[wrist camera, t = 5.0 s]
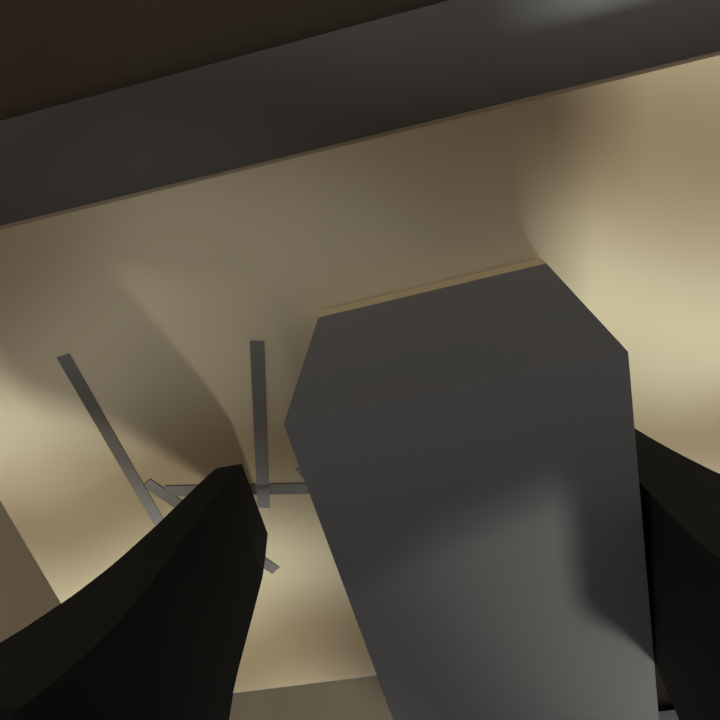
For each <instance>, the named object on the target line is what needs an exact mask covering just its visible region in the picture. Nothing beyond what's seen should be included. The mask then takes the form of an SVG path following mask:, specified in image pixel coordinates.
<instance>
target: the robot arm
mask: <svg viewBox="0 0 720 720" xmlns="http://www.w3.org/2000/svg"><path fill="white" fill-rule="evenodd" d="M635 439H636V451H637V463H638V475H639V487H640V499H641V511H642V522H643V534H644V546H645V558H646V570H647V582H648V594H649V606H650V618H651V630H652V642H653V653H654V660H655V663H656V665H657V667H658V670H659V672H660V675H661V677H662V679H663V682H664V684H665V687H666V689H667V691H668V694H669V696H670V699H671V701H672V704H673V706H674V709H675V710H665V711H658V713H659V720H720V474H719V473H717V472H715V471H713V470H710V469H708V468H706V467H704V466H702V465H700V464H698V463H696V462H694V461H692V460H690V459H688V458H686V457H684V456H683V455H681V454H679V453H677V452H675V451H673V450H671V449H670V448H668V447H666V446H664V445H662V444H661V443H659V442H657V441H655V440H654V439H652V438H650V437H648V436H647V435H645V434H643V433H642V432H640V431H638V430H637V429H635ZM267 536H268V533H267V530H266V528H265V525H264V522H263V520H262V517H261V514H260V512H259V509H258V506H257V504H256V501H255V498H254V495H253V493H252V490H251V487H250V485H249V482H248V479H247V477H246V474H245V471H244V469H243V466H242V464H238V465H232V466H226V467H220V468H216V469H215V470H214V471H212V472H211V473H210V474H209V475H208V476H207V477H206V478H204V479H203V480H202V481H201V482H200V483H199V484H198V485H197V486H196V487H195V488H194V489H193V490H192V491H191V492H190V493H189V494H188V495H187V496H186V497H185V498H184V499H183V500H182V501H181V502H180V503H179V504H178V505H177V506H176V507H175V508H174V509H173V510H172V511H171V512H170V513H169V514H168V515H167V516H165V517H164V518H163V519H162V520H161V521H160V522H159V523H158V524H157V525H156V526H155V527H154V528H153V529H152V530H151V531H150V532H149V533H147V534H146V535H145V536H144V537H143V538H142V539H141V540H140V541H139V542H138V543H136V544H135V545H134V546H133V547H132V548H131V549H130V550H129V551H128V552H126V553H125V554H124V555H123V556H122V557H121V558H120V559H119V560H117V561H116V562H115V563H114V564H113V565H111V566H110V567H109V568H108V569H107V570H105V571H104V572H103V573H102V574H100V575H99V576H98V577H96V578H95V579H94V580H93V581H91V582H90V583H89V584H87V585H86V586H85V587H83V588H82V589H81V590H80V591H78V592H77V593H75V594H74V595H73V596H71V597H70V598H68V599H67V600H66V601H64V602H63V603H61V604H60V605H58V606H57V607H55V608H54V609H52V610H51V611H49V612H48V613H46V614H45V615H43V616H42V617H40V618H39V619H37V620H36V621H35V622H33V623H32V624H30V625H29V626H27V627H25V628H24V629H22V630H21V631H19V632H17V633H16V634H14V635H13V636H11V637H9V638H8V639H6V640H4V641H3V642H1V643H0V720H229V716H230V710H231V703H232V697H233V691H234V687H235V682H236V678H237V673H238V669H239V665H240V661H241V657H242V654H243V650H244V646H245V642H246V639H247V635H248V631H249V627H250V624H251V620H252V616H253V612H254V609H255V605H256V601H257V597H258V593H259V589H260V585H261V581H262V577H263V571H264V564H265V556H266V546H267Z"/></svg>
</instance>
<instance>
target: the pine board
mask: <svg viewBox="0 0 720 720" xmlns="http://www.w3.org/2000/svg"><path fill="white" fill-rule="evenodd" d="M538 258H542V259H543V260H544V261H545V262H546V263H547V265H548V266H549V267H550V268H551V269H552V270H553V271H554V272H555V273H556V274H557V275H558V276H559V278H560V279H561V280H562V281H563V282H564V283H565V284H566V285H567V286H568V287H569V288H570V289H571V290H572V292H573V293H574V294H575V295H576V296H577V297H578V298H579V299H580V300H581V301H582V302H583V303H584V305H585V306H586V307H587V308H588V309H589V310H590V311H591V312H592V313H593V314H594V315H595V316H596V318H597V319H598V320H599V321H600V322H601V323H602V324H603V325H604V326H605V327H606V328H607V329H608V331H609V332H610V333H611V334H612V335H613V336H614V337H615V338H616V339H617V340H618V341H619V342H620V344H621V345H622V346H623V347H624V348H625V349H626V350H627V351H628V356H629V368H630V380H631V391H632V403H633V415H634V427H635V429H637V430H638V431H640V432H642V433H643V434H645V435H647V436H648V437H650V438H652V439H654V440H655V441H657V442H659V443H661V444H662V445H664V446H666V447H668V448H670V449H671V450H673V451H675V452H677V453H679V454H681V455H683V456H684V457H686V458H688V459H690V460H692V461H694V462H696V463H698V464H700V465H702V466H704V467H706V468H708V469H710V470H713V471H715V472H717V473H719V474H720V0H447V1H444V2H440V3H436V4H433V5H429V6H425V7H421V8H418V9H414V10H410V11H407V12H403V13H399V14H395V15H392V16H388V17H384V18H381V19H377V20H373V21H369V22H366V23H362V24H358V25H355V26H351V27H347V28H343V29H340V30H336V31H332V32H329V33H325V34H321V35H317V36H314V37H310V38H306V39H303V40H299V41H295V42H291V43H288V44H284V45H280V46H276V47H273V48H269V49H265V50H262V51H258V52H254V53H250V54H247V55H243V56H239V57H236V58H232V59H228V60H224V61H221V62H217V63H213V64H210V65H206V66H202V67H198V68H195V69H191V70H187V71H184V72H180V73H176V74H172V75H169V76H165V77H161V78H158V79H154V80H150V81H146V82H143V83H139V84H135V85H132V86H128V87H124V88H120V89H117V90H113V91H109V92H105V93H102V94H98V95H94V96H91V97H87V98H83V99H79V100H76V101H72V102H68V103H65V104H61V105H57V106H53V107H50V108H46V109H42V110H39V111H35V112H31V113H27V114H24V115H20V116H16V117H13V118H9V119H5V120H1V121H0V501H1V503H2V505H3V506H4V508H5V510H6V512H7V513H8V515H9V517H10V518H11V520H12V522H13V523H14V525H15V527H16V528H17V530H18V532H19V533H20V535H21V537H22V539H23V540H24V542H25V544H26V545H27V547H28V549H29V550H30V552H31V554H32V555H33V557H34V559H35V560H36V562H37V564H38V565H39V567H40V569H41V571H42V572H43V574H44V576H45V577H46V579H47V581H48V582H49V584H50V586H51V587H52V589H53V591H54V592H55V594H56V596H57V598H58V599H59V601H60V603H63V602H64V601H66V600H67V599H68V598H70V597H71V596H73V595H74V594H75V593H77V592H78V591H80V590H81V589H82V588H83V587H85V586H86V585H87V584H89V583H90V582H91V581H93V580H94V579H95V578H96V577H98V576H99V575H100V574H102V573H103V572H104V571H105V570H107V569H108V568H109V567H110V566H111V565H113V564H114V563H115V562H116V561H117V560H119V559H120V558H121V557H122V556H123V555H124V554H125V553H126V552H128V551H129V550H130V549H131V548H132V547H133V546H134V545H135V544H136V543H138V542H139V541H140V540H141V539H142V538H143V537H144V536H145V535H146V534H147V533H149V532H150V531H151V530H152V529H153V528H154V527H155V526H156V525H157V524H158V523H159V522H160V521H161V520H162V519H163V518H164V517H165V516H167V515H168V514H169V513H170V512H171V511H172V510H173V509H174V508H175V507H176V506H177V505H178V504H179V503H180V502H181V501H182V500H183V499H184V498H185V497H186V496H187V495H188V494H189V493H190V492H191V491H192V490H193V489H194V488H195V487H196V486H197V485H198V484H199V483H200V482H201V481H202V480H203V479H204V478H206V477H207V476H208V475H209V474H210V473H211V472H212V471H214V470H215V469H216V468H220V467H226V466H232V465H238V464H242V466H243V469H244V471H245V474H246V477H247V479H248V482H249V485H250V487H251V490H252V493H253V495H254V498H255V501H256V504H257V506H258V509H259V512H260V514H261V517H262V520H263V522H264V525H265V528H266V530H267V533H268V536H267V546H266V556H265V564H264V571H263V577H262V581H261V585H260V589H259V593H258V597H257V601H256V605H255V609H254V612H253V616H252V620H251V624H250V627H249V631H248V635H247V639H246V642H245V646H244V650H243V654H242V657H241V661H240V665H239V669H238V673H237V678H236V682H235V687H234V691H233V694H238V693H246V692H254V691H262V690H270V689H279V688H287V687H295V686H303V685H311V684H319V683H328V682H336V681H344V680H352V679H360V678H368V677H377V674H376V672H375V669H374V666H373V663H372V661H371V658H370V655H369V653H368V650H367V647H366V645H365V642H364V639H363V637H362V634H361V631H360V628H359V626H358V623H357V620H356V618H355V615H354V612H353V610H352V607H351V604H350V602H349V599H348V596H347V593H346V591H345V588H344V585H343V583H342V580H341V577H340V575H339V572H338V569H337V567H336V564H335V561H334V559H333V556H332V553H331V550H330V548H329V545H328V542H327V540H326V537H325V534H324V532H323V529H322V526H321V524H320V521H319V518H318V515H317V513H316V510H315V507H314V505H313V502H312V499H311V497H310V494H309V491H308V489H307V486H306V483H305V480H304V478H303V475H302V472H301V470H300V467H299V464H298V462H297V459H296V456H295V454H294V451H293V448H292V445H291V443H290V440H289V437H288V435H287V432H286V429H285V427H284V422H285V418H286V415H287V412H288V409H289V406H290V403H291V400H292V397H293V394H294V391H295V388H296V385H297V382H298V378H299V375H300V372H301V369H302V366H303V363H304V360H305V357H306V354H307V351H308V348H309V345H310V342H311V338H312V335H313V332H314V329H315V326H316V323H317V320H318V317H319V314H320V311H321V310H325V309H330V308H334V307H338V306H342V305H346V304H351V303H355V302H359V301H363V300H367V299H371V298H376V297H380V296H384V295H388V294H392V293H396V292H401V291H405V290H409V289H413V288H417V287H422V286H426V285H430V284H434V283H438V282H442V281H447V280H451V279H455V278H459V277H463V276H467V275H472V274H476V273H480V272H484V271H488V270H493V269H497V268H501V267H505V266H509V265H513V264H518V263H522V262H526V261H530V260H534V259H538Z"/></svg>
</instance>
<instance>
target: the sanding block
mask: <svg viewBox="0 0 720 720" xmlns="http://www.w3.org/2000/svg"><path fill="white" fill-rule="evenodd" d="M284 427H285V429H286V432H287V435H288V437H289V440H290V443H291V445H292V448H293V451H294V454H295V456H296V459H297V462H298V464H299V467H300V470H301V472H302V475H303V478H304V480H305V483H306V486H307V489H308V491H309V494H310V497H311V499H312V502H313V505H314V507H315V510H316V513H317V515H318V518H319V521H320V524H321V526H322V529H323V532H324V534H325V537H326V540H327V542H328V545H329V548H330V550H331V553H332V556H333V559H334V561H335V564H336V567H337V569H338V572H339V575H340V577H341V580H342V583H343V585H344V588H345V591H346V593H347V596H348V599H349V602H350V604H351V607H352V610H353V612H354V615H355V618H356V620H357V623H358V626H359V628H360V631H361V634H362V637H363V639H364V642H365V645H366V647H367V650H368V653H369V655H370V658H371V661H372V663H373V666H374V669H375V672H376V674H377V677H378V680H379V682H380V685H381V688H382V690H383V693H384V696H385V698H386V701H387V704H388V706H389V709H390V712H391V715H392V717H393V720H659V713H658V701H657V689H656V677H655V665H654V653H653V642H652V630H651V618H650V606H649V594H648V582H647V570H646V558H645V546H644V534H643V522H642V511H641V499H640V487H639V475H638V463H637V451H636V439H635V427H634V415H633V403H632V391H631V380H630V368H629V356H628V351H627V350H626V349H625V348H624V347H623V346H622V345H621V344H620V342H619V341H618V340H617V339H616V338H615V337H614V336H613V335H612V334H611V333H610V332H609V331H608V329H607V328H606V327H605V326H604V325H603V324H602V323H601V322H600V321H599V320H598V319H597V318H596V316H595V315H594V314H593V313H592V312H591V311H590V310H589V309H588V308H587V307H586V306H585V305H584V303H583V302H582V301H581V300H580V299H579V298H578V297H577V296H576V295H575V294H574V293H573V292H572V290H571V289H570V288H569V287H568V286H567V285H566V284H565V283H564V282H563V281H562V280H561V279H560V278H559V276H558V275H557V274H556V273H555V272H554V271H553V270H552V269H551V268H550V267H549V266H548V265H547V263H546V262H545V261H544V260H543V259H542V258H538V259H534V260H530V261H526V262H522V263H518V264H513V265H509V266H505V267H501V268H497V269H493V270H488V271H484V272H480V273H476V274H472V275H467V276H463V277H459V278H455V279H451V280H447V281H442V282H438V283H434V284H430V285H426V286H422V287H417V288H413V289H409V290H405V291H401V292H396V293H392V294H388V295H384V296H380V297H376V298H371V299H367V300H363V301H359V302H355V303H351V304H346V305H342V306H338V307H334V308H330V309H325V310H321V311H320V314H319V317H318V320H317V323H316V326H315V329H314V332H313V335H312V338H311V342H310V345H309V348H308V351H307V354H306V357H305V360H304V363H303V366H302V369H301V372H300V375H299V378H298V382H297V385H296V388H295V391H294V394H293V397H292V400H291V403H290V406H289V409H288V412H287V415H286V418H285V422H284Z"/></svg>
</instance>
